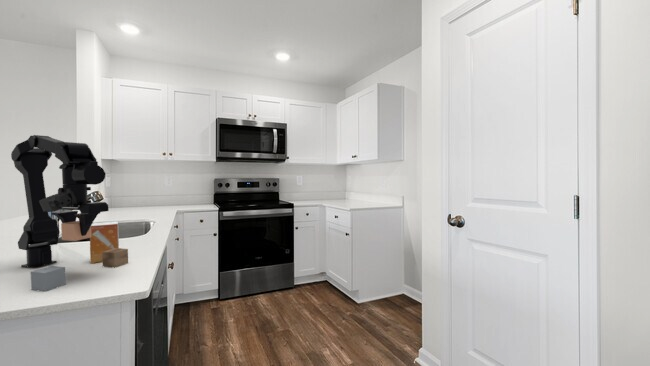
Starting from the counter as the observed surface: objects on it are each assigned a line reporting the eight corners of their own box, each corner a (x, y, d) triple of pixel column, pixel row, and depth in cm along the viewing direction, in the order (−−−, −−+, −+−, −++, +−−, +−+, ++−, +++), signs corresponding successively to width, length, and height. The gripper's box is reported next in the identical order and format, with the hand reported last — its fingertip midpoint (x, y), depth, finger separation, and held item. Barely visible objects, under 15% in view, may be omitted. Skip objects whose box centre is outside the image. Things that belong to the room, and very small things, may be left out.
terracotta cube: (61, 240, 90) (61, 223, 90) (79, 236, 95) (78, 220, 95) (74, 240, 89) (74, 224, 89) (91, 237, 94) (90, 221, 94)
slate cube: (31, 290, 81) (30, 271, 80) (52, 283, 85) (51, 265, 85) (45, 291, 79) (44, 273, 79) (66, 284, 84) (65, 267, 84)
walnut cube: (102, 266, 100) (102, 251, 100) (116, 262, 105) (115, 248, 105) (115, 267, 99) (114, 252, 99) (128, 263, 104) (127, 248, 103)
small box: (90, 263, 103) (88, 225, 102) (92, 259, 108) (90, 223, 108) (119, 259, 107) (117, 223, 107) (119, 255, 113) (118, 221, 112)
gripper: (20, 185, 86) (22, 239, 87) (70, 185, 82) (73, 243, 82) (62, 183, 97) (64, 231, 97) (109, 183, 92) (110, 234, 93)
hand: (76, 235), depth 92 cm, fingers closed on terracotta cube, 5 cm apart
